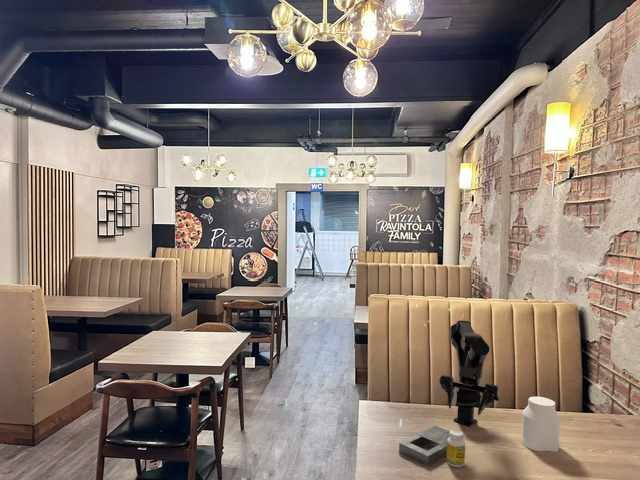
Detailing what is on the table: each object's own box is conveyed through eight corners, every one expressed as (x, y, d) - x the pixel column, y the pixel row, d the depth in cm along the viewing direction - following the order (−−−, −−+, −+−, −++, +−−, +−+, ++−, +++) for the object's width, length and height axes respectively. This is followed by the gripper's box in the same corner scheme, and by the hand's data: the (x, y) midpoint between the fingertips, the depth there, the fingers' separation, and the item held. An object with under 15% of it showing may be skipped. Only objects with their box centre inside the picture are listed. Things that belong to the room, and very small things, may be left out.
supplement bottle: (454, 457, 146) (455, 427, 146) (468, 464, 142) (469, 433, 141) (442, 461, 143) (443, 431, 143) (456, 469, 139) (457, 438, 138)
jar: (529, 451, 151) (531, 406, 150) (516, 437, 160) (518, 395, 160) (564, 452, 151) (566, 407, 150) (550, 438, 160) (551, 396, 160)
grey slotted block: (434, 433, 162) (434, 425, 162) (462, 445, 154) (463, 436, 154) (399, 451, 148) (399, 442, 148) (427, 465, 140) (428, 456, 140)
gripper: (441, 351, 158) (430, 392, 149) (499, 361, 148) (491, 406, 139) (447, 368, 165) (437, 408, 156) (503, 378, 155) (495, 422, 146)
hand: (463, 411), depth 149 cm, fingers open, 9 cm apart
